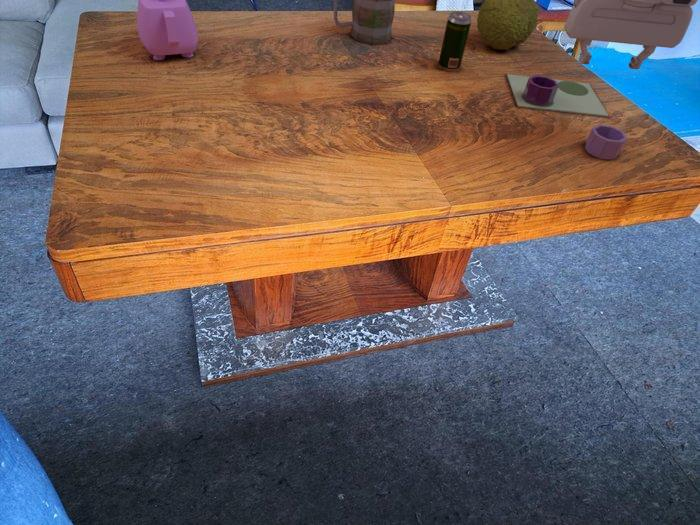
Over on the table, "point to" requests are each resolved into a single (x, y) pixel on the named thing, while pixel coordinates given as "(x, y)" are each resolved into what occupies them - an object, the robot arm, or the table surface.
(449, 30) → the beer can
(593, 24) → the robot arm
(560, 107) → the mat
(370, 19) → the mug
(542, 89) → the plum dish
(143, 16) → the pink rounded piece
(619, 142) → the lavender dish
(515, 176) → the table surface
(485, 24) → the fruit
